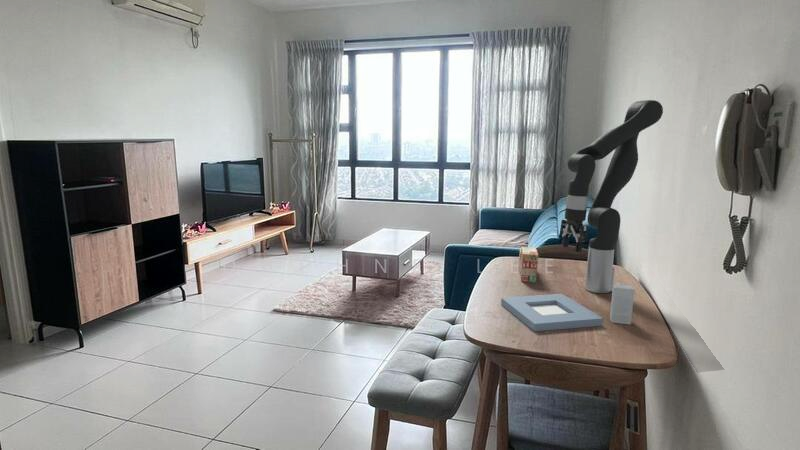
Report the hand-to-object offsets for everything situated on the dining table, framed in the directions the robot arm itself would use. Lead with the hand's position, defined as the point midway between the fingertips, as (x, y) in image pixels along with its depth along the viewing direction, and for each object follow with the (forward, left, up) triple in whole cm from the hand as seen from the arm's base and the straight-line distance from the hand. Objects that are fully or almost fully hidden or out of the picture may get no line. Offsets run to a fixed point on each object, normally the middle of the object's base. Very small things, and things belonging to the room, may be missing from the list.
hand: (571, 249), depth 177 cm
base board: (+20, +20, -17) cm, 33 cm away
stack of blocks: (+5, -24, -18) cm, 30 cm away
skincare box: (0, +30, -17) cm, 35 cm away
